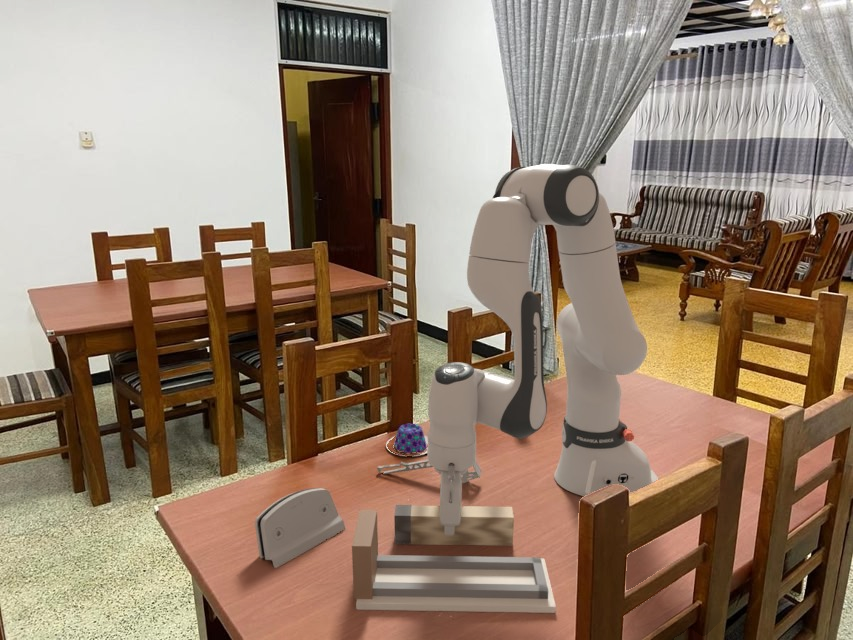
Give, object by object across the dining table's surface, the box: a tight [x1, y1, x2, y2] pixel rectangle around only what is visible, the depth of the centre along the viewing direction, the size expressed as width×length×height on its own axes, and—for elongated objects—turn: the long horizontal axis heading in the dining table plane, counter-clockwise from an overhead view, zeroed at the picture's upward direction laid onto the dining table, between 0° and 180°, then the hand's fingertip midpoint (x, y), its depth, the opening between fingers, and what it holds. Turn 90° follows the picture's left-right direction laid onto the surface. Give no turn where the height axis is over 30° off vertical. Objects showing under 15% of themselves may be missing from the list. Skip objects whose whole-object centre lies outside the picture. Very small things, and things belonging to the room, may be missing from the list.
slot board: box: [351, 509, 557, 614], centre depth 106 cm, size 32×12×11 cm, turn 89°
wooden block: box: [393, 504, 515, 547], centre depth 120 cm, size 22×4×6 cm, turn 89°
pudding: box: [385, 422, 428, 457], centre depth 155 cm, size 12×12×5 cm
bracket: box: [376, 459, 482, 485], centre depth 141 cm, size 3×21×10 cm, turn 79°
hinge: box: [254, 487, 346, 569], centre depth 119 cm, size 17×5×10 cm, turn 137°
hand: (449, 518), depth 119 cm, fingers open, 8 cm apart
